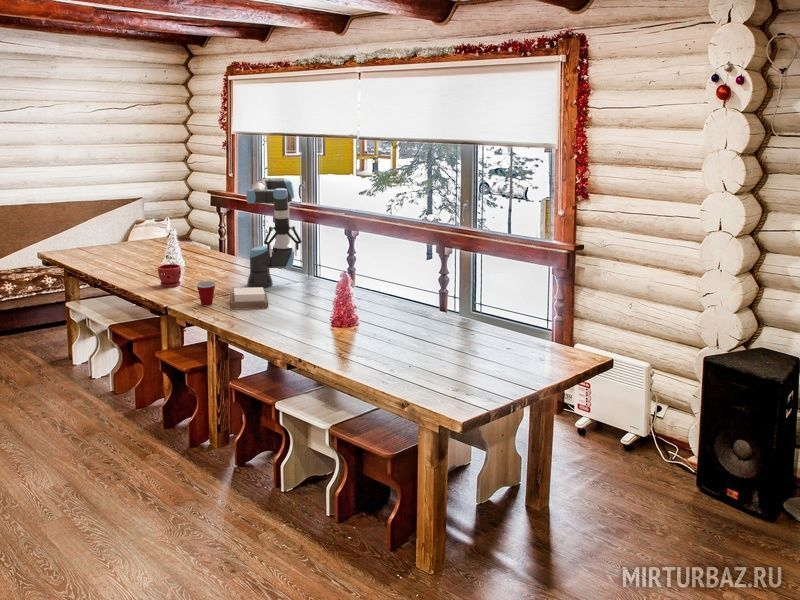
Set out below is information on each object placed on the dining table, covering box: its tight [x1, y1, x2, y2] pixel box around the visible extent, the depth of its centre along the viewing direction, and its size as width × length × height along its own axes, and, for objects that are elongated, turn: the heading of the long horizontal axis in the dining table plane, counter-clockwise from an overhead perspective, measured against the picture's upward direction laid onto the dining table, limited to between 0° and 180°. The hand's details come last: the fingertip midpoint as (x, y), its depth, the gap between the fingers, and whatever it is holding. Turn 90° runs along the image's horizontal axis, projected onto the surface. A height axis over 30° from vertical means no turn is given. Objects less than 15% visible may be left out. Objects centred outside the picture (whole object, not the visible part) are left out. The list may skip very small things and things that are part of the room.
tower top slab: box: [233, 287, 265, 302], centre depth 443 cm, size 16×16×4 cm
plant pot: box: [157, 263, 182, 288], centre depth 479 cm, size 13×13×12 cm
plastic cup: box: [195, 280, 217, 306], centre depth 439 cm, size 11×11×12 cm
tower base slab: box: [229, 292, 269, 310], centre depth 444 cm, size 20×20×4 cm
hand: (283, 256), depth 437 cm, fingers open, 13 cm apart
